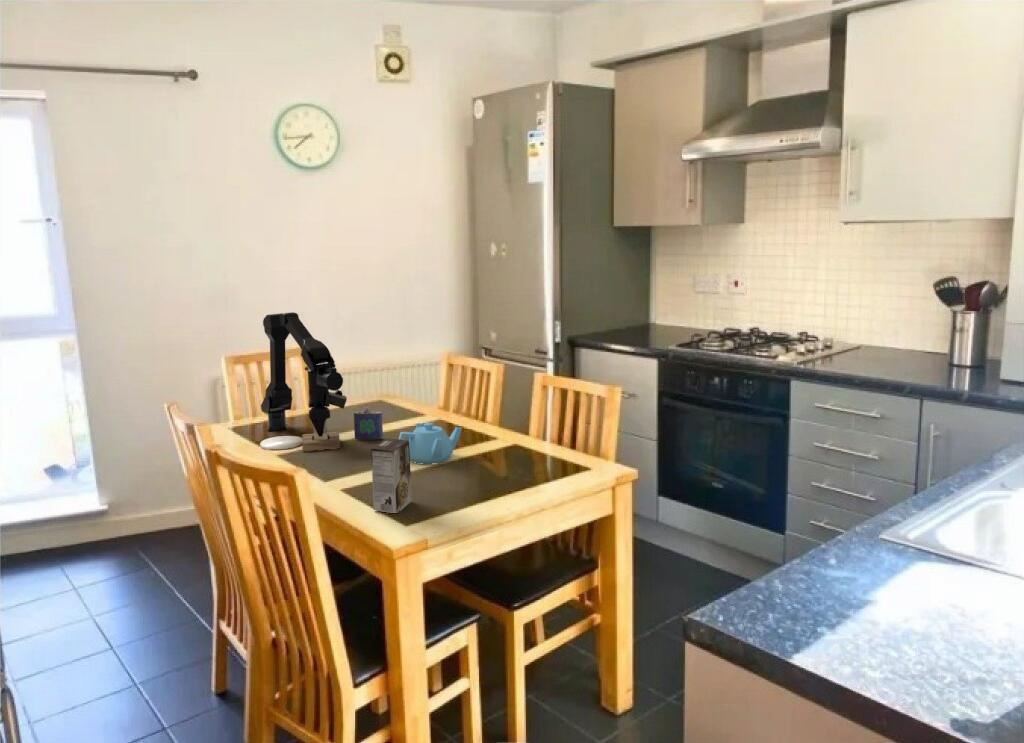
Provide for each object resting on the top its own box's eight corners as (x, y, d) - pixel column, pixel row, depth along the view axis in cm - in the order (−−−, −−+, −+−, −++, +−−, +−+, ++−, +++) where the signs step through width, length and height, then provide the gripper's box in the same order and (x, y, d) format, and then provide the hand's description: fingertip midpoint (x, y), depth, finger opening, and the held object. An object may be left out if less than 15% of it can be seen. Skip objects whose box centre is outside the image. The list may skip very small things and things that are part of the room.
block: (314, 444, 244) (313, 416, 242) (327, 443, 245) (326, 415, 243) (314, 447, 240) (313, 419, 238) (327, 446, 241) (326, 418, 239)
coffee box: (389, 499, 194) (386, 437, 191) (412, 501, 193) (410, 439, 189) (372, 512, 186) (369, 447, 183) (396, 514, 184) (394, 449, 181)
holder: (302, 441, 246) (302, 434, 246) (338, 439, 249) (338, 431, 248) (302, 451, 235) (302, 443, 235) (340, 448, 238) (339, 441, 238)
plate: (261, 440, 248) (261, 437, 248) (303, 437, 252) (303, 434, 252) (259, 451, 236) (259, 448, 236) (303, 447, 239) (303, 445, 239)
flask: (383, 438, 250) (382, 406, 248) (381, 440, 247) (380, 408, 245) (355, 438, 250) (354, 406, 248) (353, 440, 247) (351, 408, 245)
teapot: (419, 449, 238) (418, 415, 236) (463, 453, 233) (462, 419, 230) (394, 463, 224) (392, 427, 222) (440, 468, 219) (439, 432, 216)
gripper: (345, 390, 232) (348, 440, 235) (343, 378, 249) (345, 425, 252) (307, 392, 229) (310, 443, 232) (307, 380, 247) (310, 427, 250)
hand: (320, 434), depth 241 cm, fingers closed on block, 4 cm apart
